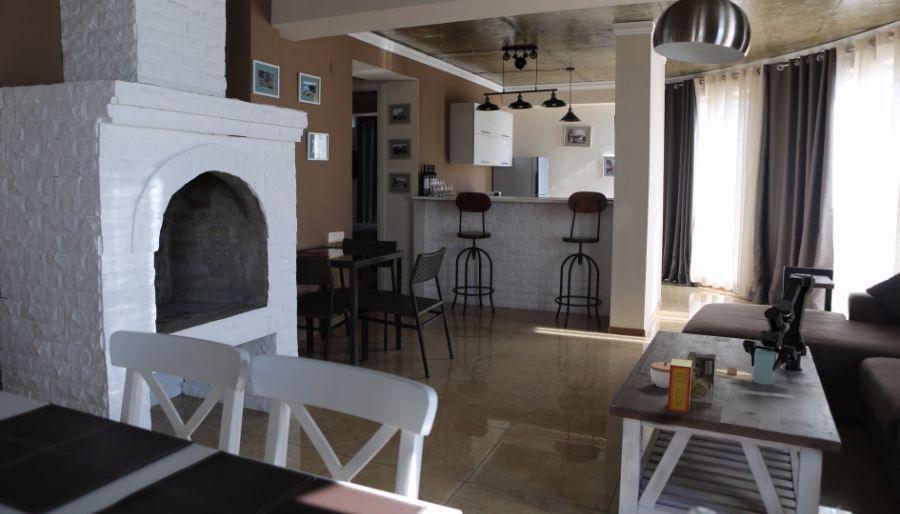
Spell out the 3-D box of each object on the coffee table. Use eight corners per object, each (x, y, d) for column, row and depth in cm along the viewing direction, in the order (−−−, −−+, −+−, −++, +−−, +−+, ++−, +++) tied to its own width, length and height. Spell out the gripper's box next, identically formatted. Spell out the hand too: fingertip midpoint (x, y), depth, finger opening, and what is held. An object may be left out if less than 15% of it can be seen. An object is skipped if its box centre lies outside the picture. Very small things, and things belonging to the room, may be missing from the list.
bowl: (726, 372, 275) (727, 365, 275) (736, 373, 274) (736, 366, 274) (727, 374, 272) (727, 368, 272) (737, 375, 271) (737, 369, 271)
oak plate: (710, 370, 283) (710, 367, 283) (750, 373, 278) (750, 370, 278) (712, 380, 268) (712, 377, 268) (754, 384, 264) (754, 381, 264)
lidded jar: (681, 391, 254) (682, 366, 253) (650, 388, 256) (651, 364, 255) (677, 382, 264) (679, 358, 263) (648, 380, 266) (649, 356, 265)
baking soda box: (669, 402, 240) (672, 357, 239) (689, 405, 238) (692, 359, 236) (667, 410, 232) (670, 363, 230) (688, 413, 229) (691, 366, 227)
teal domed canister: (751, 380, 268) (754, 347, 266) (772, 383, 266) (774, 349, 264) (753, 386, 261) (756, 352, 260) (774, 388, 259) (777, 354, 257)
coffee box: (714, 399, 245) (717, 354, 243) (712, 404, 239) (715, 358, 237) (687, 395, 249) (689, 351, 247) (684, 400, 243) (687, 355, 241)
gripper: (745, 318, 270) (732, 351, 263) (797, 326, 257) (784, 360, 251) (752, 335, 277) (739, 367, 270) (802, 343, 264) (790, 377, 257)
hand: (762, 368), depth 262 cm, fingers closed on teal domed canister, 7 cm apart
